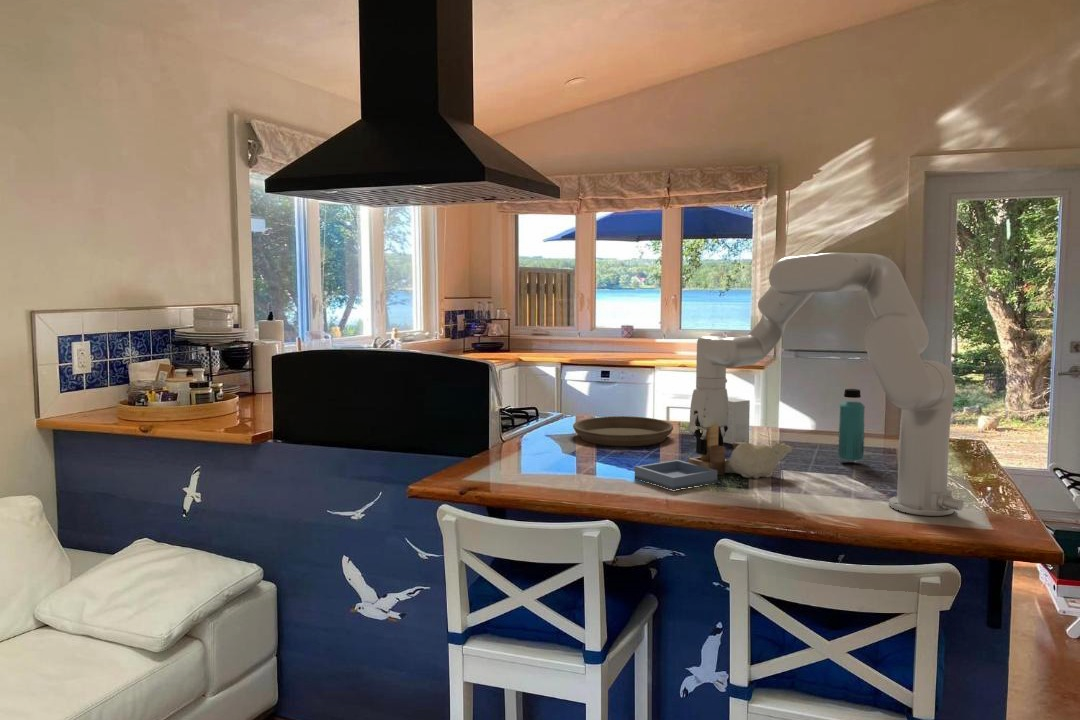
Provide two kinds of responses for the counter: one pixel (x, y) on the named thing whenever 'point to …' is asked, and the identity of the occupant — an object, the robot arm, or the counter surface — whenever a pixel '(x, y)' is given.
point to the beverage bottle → (851, 427)
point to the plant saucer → (623, 430)
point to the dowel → (710, 441)
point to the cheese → (756, 459)
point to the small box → (738, 421)
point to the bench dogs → (719, 457)
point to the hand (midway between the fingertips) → (709, 452)
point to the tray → (676, 474)
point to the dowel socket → (699, 462)
